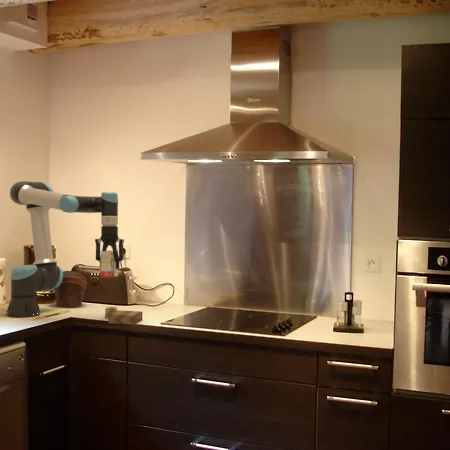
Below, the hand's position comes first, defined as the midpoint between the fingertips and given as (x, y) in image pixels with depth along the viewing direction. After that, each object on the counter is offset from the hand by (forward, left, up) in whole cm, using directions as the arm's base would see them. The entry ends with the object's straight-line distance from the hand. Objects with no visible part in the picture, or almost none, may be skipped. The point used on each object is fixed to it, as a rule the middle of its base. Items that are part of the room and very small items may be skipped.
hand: (109, 276), depth 288 cm
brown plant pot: (-35, +35, -21) cm, 54 cm away
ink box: (0, 0, 0) cm, 0 cm away
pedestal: (+8, +1, -21) cm, 22 cm away
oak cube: (-2, +8, -21) cm, 23 cm away
